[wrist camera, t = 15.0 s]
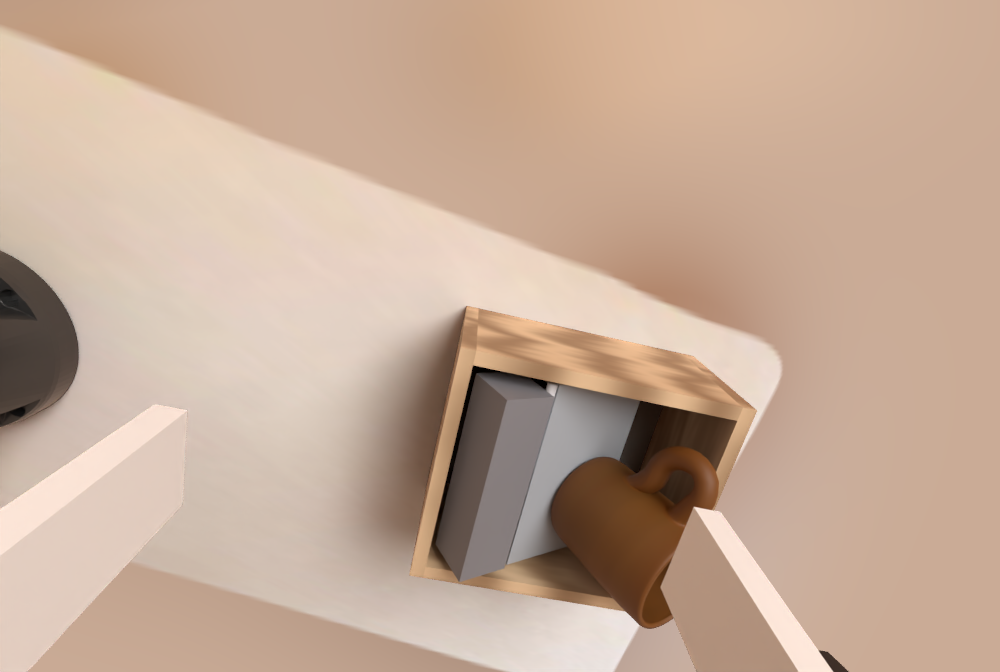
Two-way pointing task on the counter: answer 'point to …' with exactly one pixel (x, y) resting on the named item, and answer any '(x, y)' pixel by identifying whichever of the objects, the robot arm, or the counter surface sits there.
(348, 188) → the counter surface
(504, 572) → the trapdoor frame
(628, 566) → the mug
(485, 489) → the trapdoor
